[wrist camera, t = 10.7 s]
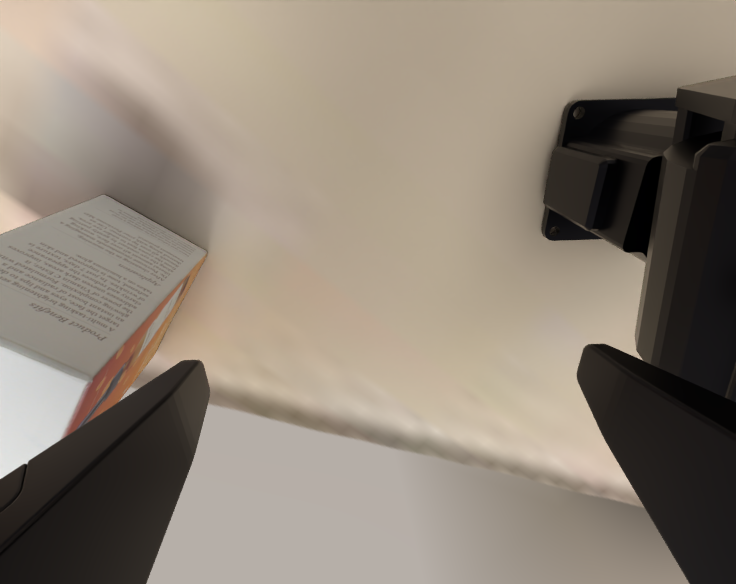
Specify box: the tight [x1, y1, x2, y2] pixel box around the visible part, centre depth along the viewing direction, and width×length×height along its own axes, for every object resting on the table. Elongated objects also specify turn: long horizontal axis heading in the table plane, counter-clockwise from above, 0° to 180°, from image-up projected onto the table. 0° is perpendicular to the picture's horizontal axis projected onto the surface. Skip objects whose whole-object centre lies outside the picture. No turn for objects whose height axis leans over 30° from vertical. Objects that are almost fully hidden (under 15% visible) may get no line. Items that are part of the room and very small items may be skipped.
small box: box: [0, 195, 207, 479], centre depth 16 cm, size 8×6×10 cm
